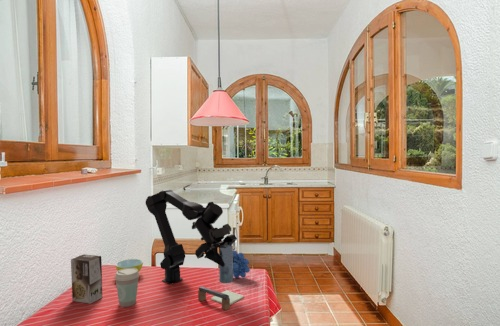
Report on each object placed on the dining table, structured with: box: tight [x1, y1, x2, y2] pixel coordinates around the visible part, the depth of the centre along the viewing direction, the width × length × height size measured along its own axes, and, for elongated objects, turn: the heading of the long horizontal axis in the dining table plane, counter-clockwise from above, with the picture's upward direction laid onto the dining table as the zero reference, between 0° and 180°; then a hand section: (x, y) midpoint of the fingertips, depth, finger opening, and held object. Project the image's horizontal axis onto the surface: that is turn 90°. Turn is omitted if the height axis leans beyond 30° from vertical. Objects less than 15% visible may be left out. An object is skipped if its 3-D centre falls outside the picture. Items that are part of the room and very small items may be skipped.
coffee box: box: [70, 254, 103, 304], centre depth 125 cm, size 9×6×16 cm
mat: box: [210, 289, 245, 306], centre depth 124 cm, size 9×9×1 cm
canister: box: [218, 244, 234, 284], centre depth 124 cm, size 5×5×13 cm
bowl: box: [115, 258, 144, 273], centre depth 148 cm, size 11×12×6 cm
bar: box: [198, 285, 229, 300], centre depth 120 cm, size 14×1×1 cm, turn 52°
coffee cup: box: [114, 268, 140, 308], centre depth 121 cm, size 8×8×12 cm
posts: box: [197, 289, 231, 311], centre depth 120 cm, size 14×2×4 cm, turn 52°
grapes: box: [233, 249, 251, 278], centre depth 144 cm, size 12×7×12 cm, turn 79°
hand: (228, 264), depth 123 cm, fingers closed on canister, 5 cm apart
